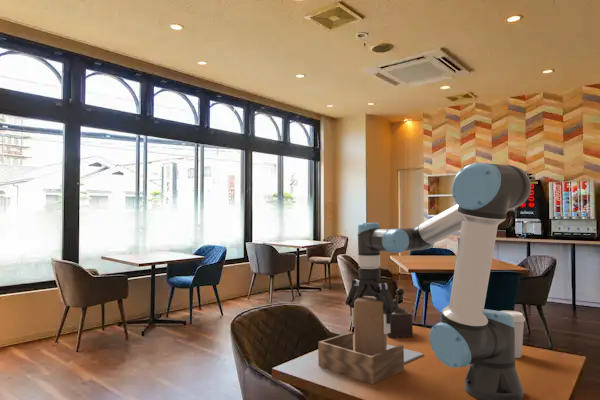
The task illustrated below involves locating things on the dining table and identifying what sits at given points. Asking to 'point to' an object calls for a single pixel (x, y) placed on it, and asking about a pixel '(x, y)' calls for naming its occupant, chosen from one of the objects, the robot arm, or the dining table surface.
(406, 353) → the mat
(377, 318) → the block
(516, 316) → the coffee cup
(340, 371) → the bracket
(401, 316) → the dark statue on base
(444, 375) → the dining table surface
